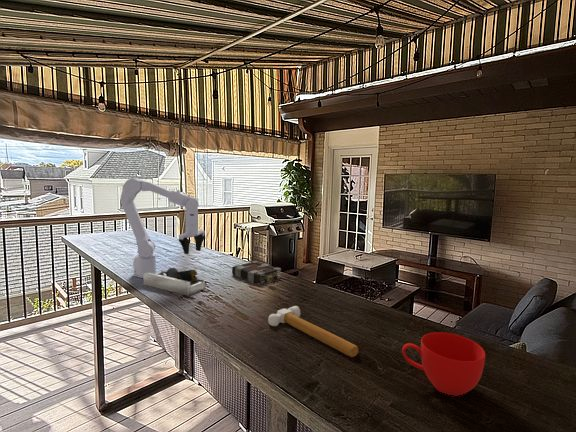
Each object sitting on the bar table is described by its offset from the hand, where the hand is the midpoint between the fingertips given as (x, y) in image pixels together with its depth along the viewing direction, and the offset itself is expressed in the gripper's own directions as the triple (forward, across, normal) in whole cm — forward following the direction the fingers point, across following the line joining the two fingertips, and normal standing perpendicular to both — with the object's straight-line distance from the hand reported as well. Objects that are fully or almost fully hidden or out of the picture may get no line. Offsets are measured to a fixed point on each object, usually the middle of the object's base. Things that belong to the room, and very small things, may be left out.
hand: (192, 252), depth 157 cm
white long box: (+10, -17, -7) cm, 21 cm away
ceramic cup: (+10, -34, -109) cm, 115 cm away
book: (+10, +10, -32) cm, 35 cm away
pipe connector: (+10, -12, -6) cm, 17 cm away
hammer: (+11, -27, -74) cm, 80 cm away
